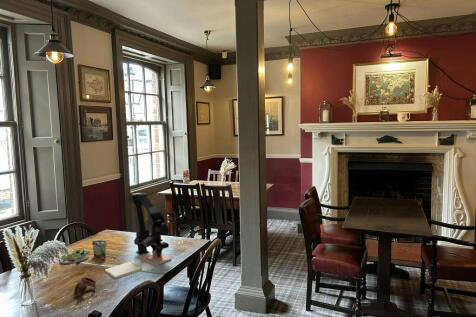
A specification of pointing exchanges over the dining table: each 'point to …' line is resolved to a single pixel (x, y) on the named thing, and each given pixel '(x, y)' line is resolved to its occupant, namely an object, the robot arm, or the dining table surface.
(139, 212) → the robot arm
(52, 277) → the dining table surface
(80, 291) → the pottery mug
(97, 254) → the food container
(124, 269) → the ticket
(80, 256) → the salad plate
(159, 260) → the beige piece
